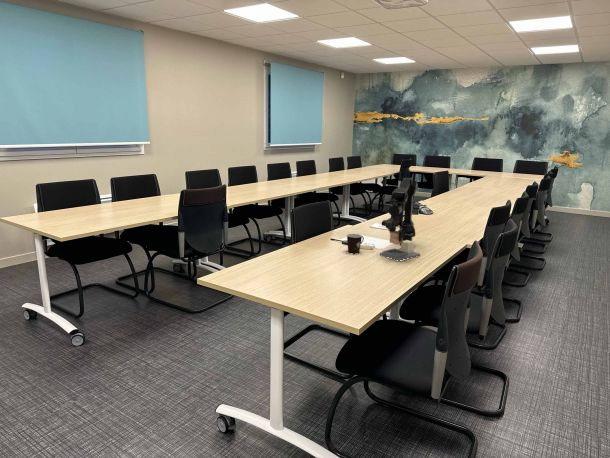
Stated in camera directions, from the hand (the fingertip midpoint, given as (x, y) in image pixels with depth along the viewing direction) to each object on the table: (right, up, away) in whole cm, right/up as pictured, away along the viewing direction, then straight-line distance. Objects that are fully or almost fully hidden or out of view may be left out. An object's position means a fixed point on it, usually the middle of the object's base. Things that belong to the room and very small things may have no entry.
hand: (396, 240), depth 236 cm
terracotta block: (0, -1, 0) cm, 1 cm away
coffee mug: (-21, -7, +10) cm, 24 cm away
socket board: (+3, -9, +5) cm, 10 cm away
